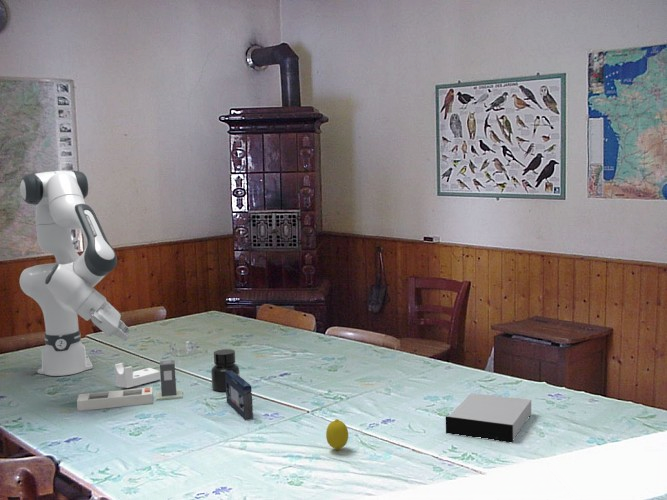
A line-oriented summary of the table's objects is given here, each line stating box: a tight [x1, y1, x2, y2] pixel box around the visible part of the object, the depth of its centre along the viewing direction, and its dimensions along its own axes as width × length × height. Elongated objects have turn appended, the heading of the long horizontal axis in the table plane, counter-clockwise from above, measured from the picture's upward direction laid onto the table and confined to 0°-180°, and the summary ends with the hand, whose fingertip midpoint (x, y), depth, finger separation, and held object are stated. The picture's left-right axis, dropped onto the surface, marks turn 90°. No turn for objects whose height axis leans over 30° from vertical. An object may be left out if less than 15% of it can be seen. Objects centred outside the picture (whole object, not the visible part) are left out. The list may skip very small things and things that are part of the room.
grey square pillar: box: [159, 359, 177, 396], centre depth 240 cm, size 4×4×10 cm
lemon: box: [325, 419, 349, 451], centre depth 192 cm, size 6×6×8 cm
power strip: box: [76, 386, 154, 412], centre depth 234 cm, size 22×7×4 cm, turn 102°
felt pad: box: [155, 388, 183, 401], centre depth 241 cm, size 8×8×1 cm
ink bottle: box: [210, 348, 241, 393], centre depth 246 cm, size 10×9×12 cm
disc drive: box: [445, 392, 532, 443], centre depth 207 cm, size 18×22×5 cm
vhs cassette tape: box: [225, 370, 254, 421], centre depth 224 cm, size 18×3×10 cm, turn 23°
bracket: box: [114, 362, 161, 389], centre depth 254 cm, size 13×7×8 cm, turn 135°
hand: (127, 335), depth 236 cm, fingers open, 8 cm apart
